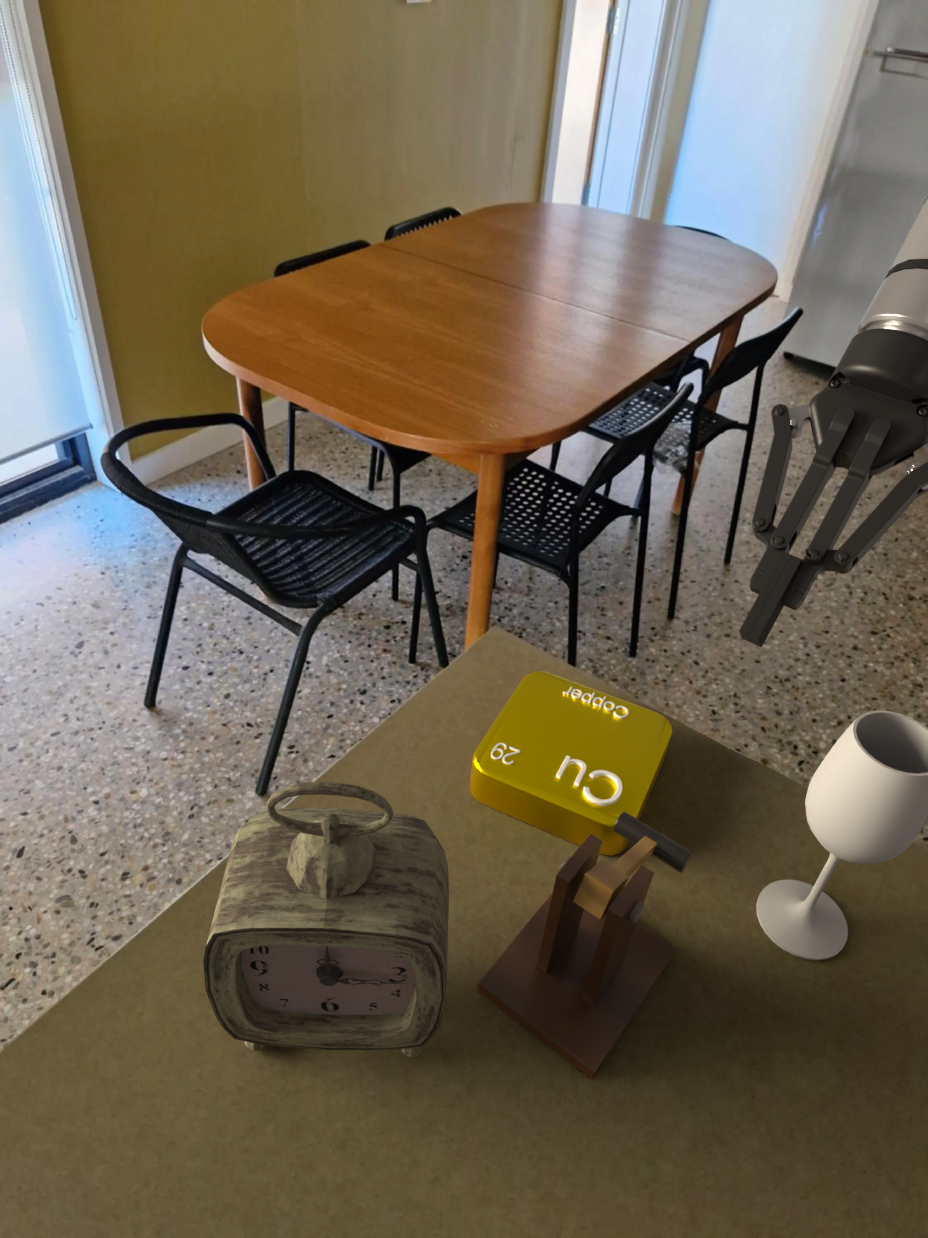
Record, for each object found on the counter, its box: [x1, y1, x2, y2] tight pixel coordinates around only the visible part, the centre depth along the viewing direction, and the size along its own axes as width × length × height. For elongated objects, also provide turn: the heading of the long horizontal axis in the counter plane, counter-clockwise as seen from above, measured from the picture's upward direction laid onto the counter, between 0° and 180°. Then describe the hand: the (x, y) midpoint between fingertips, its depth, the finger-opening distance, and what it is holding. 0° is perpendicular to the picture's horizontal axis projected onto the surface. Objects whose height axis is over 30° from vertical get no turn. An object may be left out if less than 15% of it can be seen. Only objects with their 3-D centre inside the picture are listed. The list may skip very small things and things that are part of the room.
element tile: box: [469, 670, 673, 857], centre depth 81 cm, size 15×15×5 cm
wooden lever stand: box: [476, 834, 676, 1080], centre depth 63 cm, size 12×10×13 cm
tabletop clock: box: [203, 781, 450, 1058], centre depth 56 cm, size 14×9×25 cm, turn 90°
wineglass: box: [755, 709, 928, 961], centre depth 65 cm, size 8×8×21 cm
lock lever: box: [573, 812, 694, 920], centre depth 64 cm, size 12×6×2 cm, turn 142°
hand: (750, 639), depth 64 cm, fingers closed
